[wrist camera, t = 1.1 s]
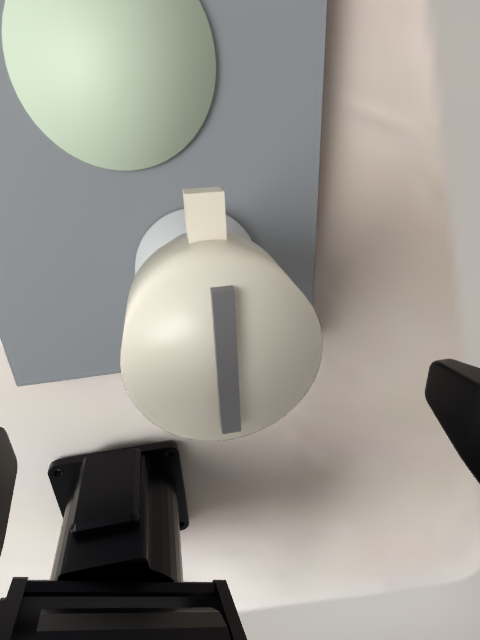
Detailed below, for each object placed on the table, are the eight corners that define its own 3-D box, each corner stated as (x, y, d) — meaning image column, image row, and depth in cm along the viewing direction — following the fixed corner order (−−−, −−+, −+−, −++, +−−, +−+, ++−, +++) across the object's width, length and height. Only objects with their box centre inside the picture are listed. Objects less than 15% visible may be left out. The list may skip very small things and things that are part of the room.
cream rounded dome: (286, 395, 15) (319, 463, 12) (145, 417, 14) (143, 495, 11) (289, 180, 11) (337, 202, 8) (105, 194, 11) (87, 223, 8)
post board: (302, 334, 20) (349, 402, 15) (24, 371, 18) (-21, 461, 13) (316, -62, 14) (408, -161, 9) (-122, -73, 12) (-319, -210, 7)
